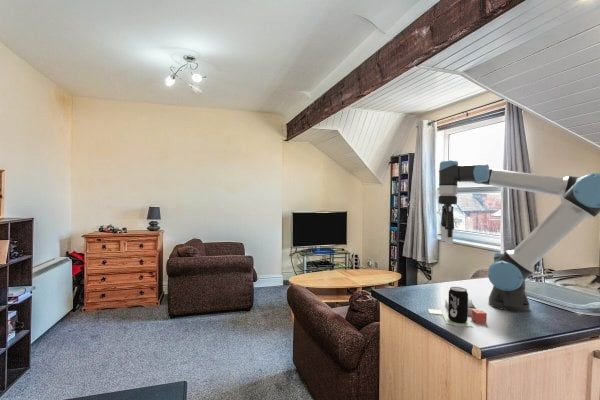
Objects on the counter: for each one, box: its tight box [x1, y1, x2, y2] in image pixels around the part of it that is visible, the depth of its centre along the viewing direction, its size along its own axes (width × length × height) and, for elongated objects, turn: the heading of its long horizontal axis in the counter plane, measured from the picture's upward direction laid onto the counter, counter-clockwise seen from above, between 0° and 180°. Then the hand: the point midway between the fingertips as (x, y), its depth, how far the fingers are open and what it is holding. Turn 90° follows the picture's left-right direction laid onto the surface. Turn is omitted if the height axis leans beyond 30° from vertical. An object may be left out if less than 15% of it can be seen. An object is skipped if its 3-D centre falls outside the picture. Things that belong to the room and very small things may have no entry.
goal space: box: [442, 314, 474, 328], centre depth 121 cm, size 9×9×1 cm
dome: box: [468, 297, 473, 308], centre depth 134 cm, size 8×8×5 cm
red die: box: [471, 309, 488, 324], centre depth 122 cm, size 4×4×4 cm
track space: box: [427, 308, 444, 316], centre depth 131 cm, size 5×5×1 cm
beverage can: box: [447, 286, 469, 323], centre depth 121 cm, size 7×7×12 cm
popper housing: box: [444, 298, 480, 317], centre depth 134 cm, size 11×11×2 cm
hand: (446, 242), depth 144 cm, fingers open, 13 cm apart
